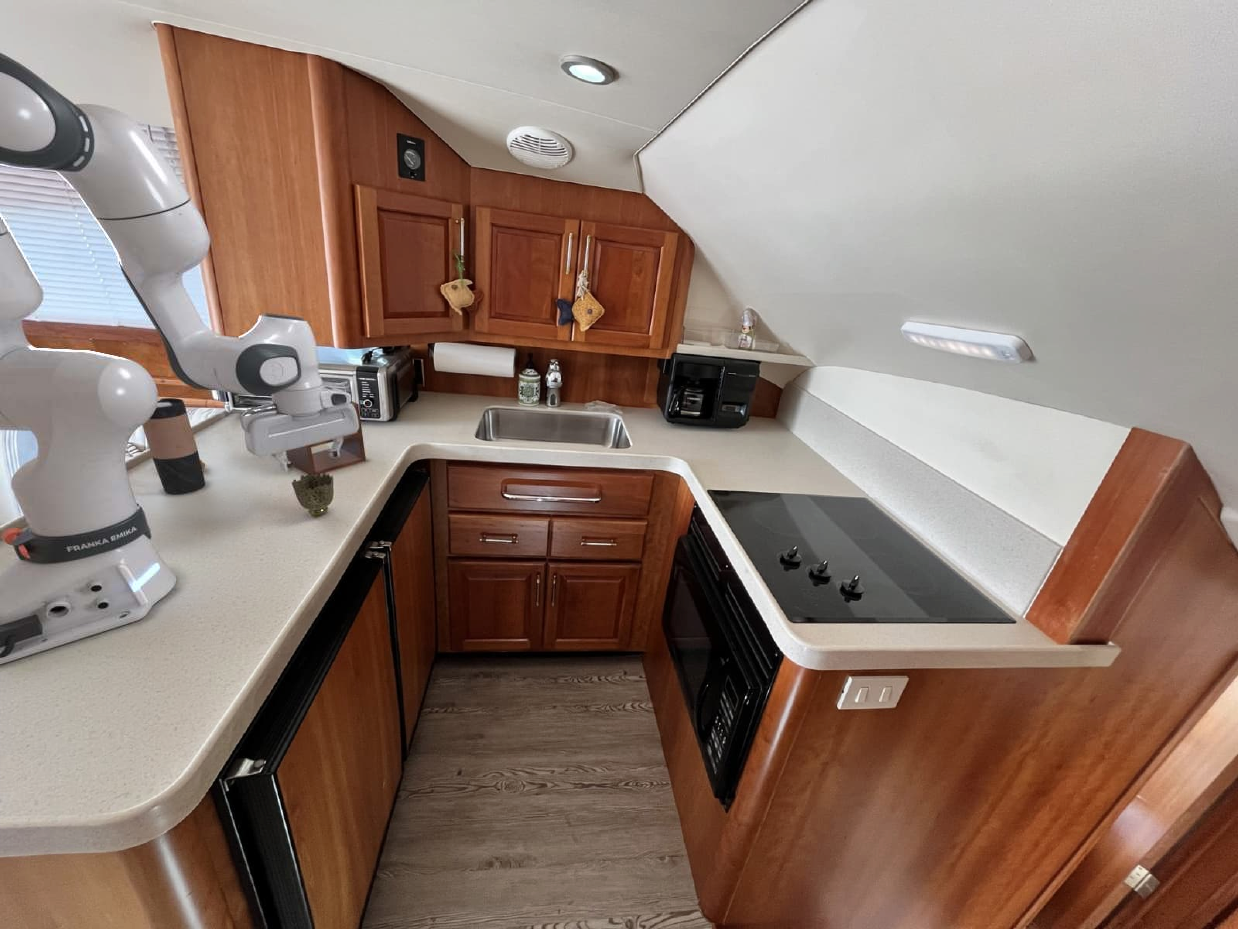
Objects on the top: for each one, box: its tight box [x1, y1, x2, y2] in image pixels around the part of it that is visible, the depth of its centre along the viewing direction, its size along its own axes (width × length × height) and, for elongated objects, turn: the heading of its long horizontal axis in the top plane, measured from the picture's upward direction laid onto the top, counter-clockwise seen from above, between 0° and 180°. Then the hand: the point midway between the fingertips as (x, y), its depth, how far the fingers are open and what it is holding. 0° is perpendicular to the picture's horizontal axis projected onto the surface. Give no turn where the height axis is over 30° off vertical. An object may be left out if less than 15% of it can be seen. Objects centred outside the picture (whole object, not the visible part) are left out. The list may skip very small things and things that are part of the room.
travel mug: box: [141, 397, 206, 496], centre depth 107 cm, size 8×8×20 cm
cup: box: [291, 473, 335, 517], centre depth 104 cm, size 8×7×8 cm
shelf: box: [285, 400, 367, 476], centre depth 126 cm, size 14×12×16 cm
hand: (311, 463), depth 101 cm, fingers open, 8 cm apart
